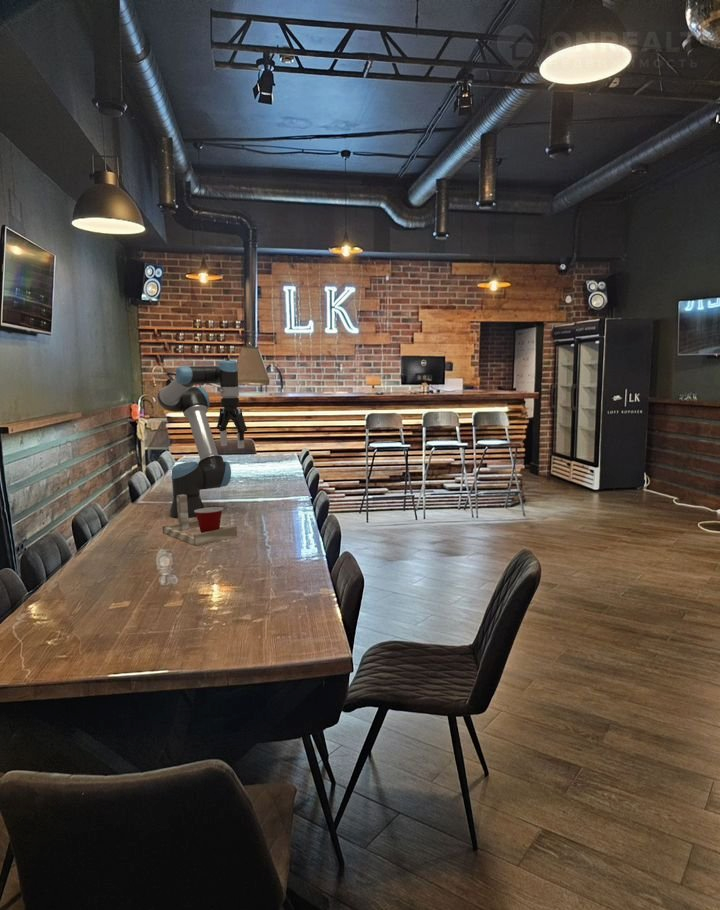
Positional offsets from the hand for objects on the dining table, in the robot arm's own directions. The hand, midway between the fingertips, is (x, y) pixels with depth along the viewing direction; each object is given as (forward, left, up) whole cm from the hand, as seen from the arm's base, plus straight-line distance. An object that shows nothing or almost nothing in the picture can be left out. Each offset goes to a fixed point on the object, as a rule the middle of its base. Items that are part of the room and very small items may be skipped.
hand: (232, 447), depth 250 cm
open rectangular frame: (+11, -24, -31) cm, 41 cm away
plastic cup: (+20, -24, -32) cm, 45 cm away
